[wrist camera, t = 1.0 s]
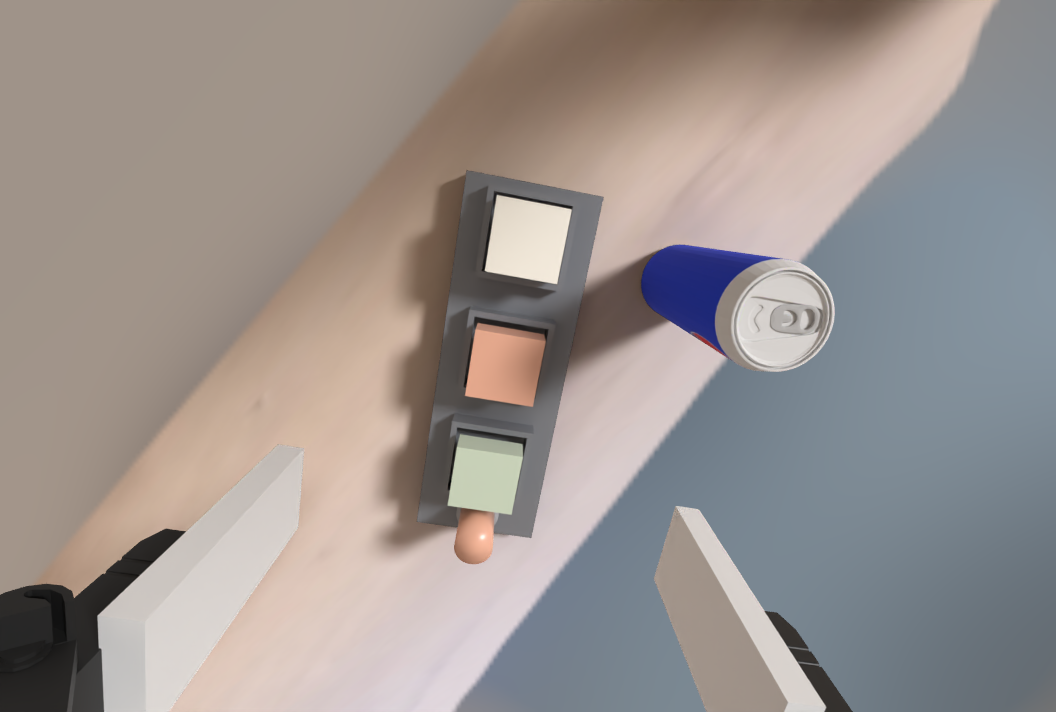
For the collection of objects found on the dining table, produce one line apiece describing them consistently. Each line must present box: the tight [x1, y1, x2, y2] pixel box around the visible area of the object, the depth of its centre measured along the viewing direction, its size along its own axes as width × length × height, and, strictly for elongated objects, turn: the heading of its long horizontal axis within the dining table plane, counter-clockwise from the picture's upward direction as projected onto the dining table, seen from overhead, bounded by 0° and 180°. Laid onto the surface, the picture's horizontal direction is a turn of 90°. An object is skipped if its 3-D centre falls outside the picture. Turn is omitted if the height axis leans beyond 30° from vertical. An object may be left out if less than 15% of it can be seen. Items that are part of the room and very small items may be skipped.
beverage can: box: [641, 245, 835, 372], centre depth 29 cm, size 5×5×15 cm
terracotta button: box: [465, 323, 546, 407], centre depth 32 cm, size 4×4×2 cm
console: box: [417, 170, 603, 564], centre depth 34 cm, size 26×9×7 cm, turn 170°
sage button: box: [448, 434, 523, 515], centre depth 34 cm, size 4×4×2 cm
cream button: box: [485, 195, 572, 284], centre depth 30 cm, size 4×4×2 cm
